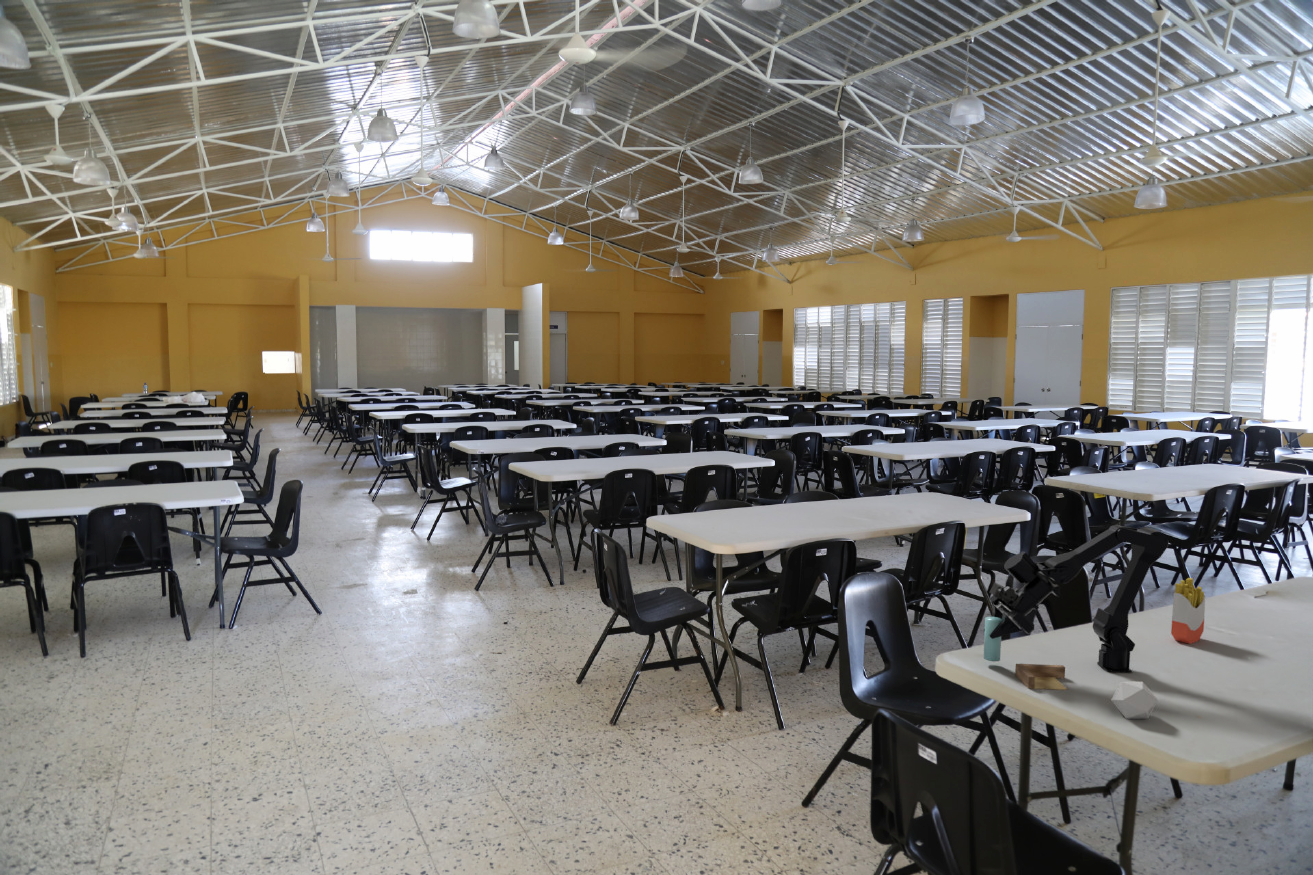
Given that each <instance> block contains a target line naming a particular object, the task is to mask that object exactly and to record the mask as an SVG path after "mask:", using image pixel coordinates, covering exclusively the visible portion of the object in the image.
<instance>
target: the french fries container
mask: <svg viewBox="0 0 1313 875" xmlns="http://www.w3.org/2000/svg"><path fill="white" fill-rule="evenodd" d="M1174 585H1175V586H1174V587H1175V588H1174V592H1173V598H1172V599H1173V600H1172V616H1171V628H1170V629H1171V630H1170V632H1171V633H1170V634H1171V636H1172V637H1173V639H1174V641H1177V642H1182V643H1185V644H1189V645H1190V644H1194V643H1196V642H1198V641H1200V639H1201V638H1202V635H1203V633H1204V630H1205V615H1206V614H1205V612H1206V607H1205V606H1206V604H1205V603H1206V596H1205V592H1204V591H1203V587H1201V586H1199V585H1198V586H1197V587H1195V585H1194V578H1192V577H1187V578H1186V579H1185V580H1183V579H1181V580H1180V583H1175V584H1174Z"/></svg>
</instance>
